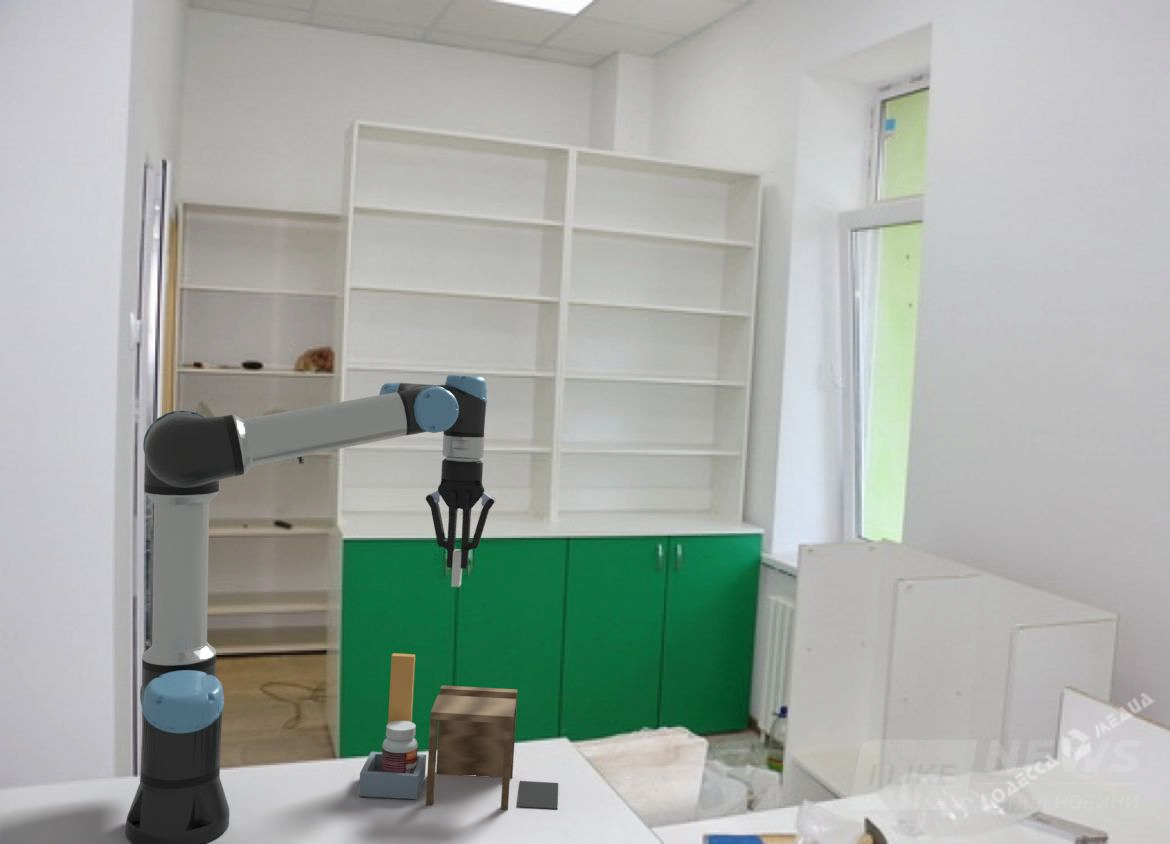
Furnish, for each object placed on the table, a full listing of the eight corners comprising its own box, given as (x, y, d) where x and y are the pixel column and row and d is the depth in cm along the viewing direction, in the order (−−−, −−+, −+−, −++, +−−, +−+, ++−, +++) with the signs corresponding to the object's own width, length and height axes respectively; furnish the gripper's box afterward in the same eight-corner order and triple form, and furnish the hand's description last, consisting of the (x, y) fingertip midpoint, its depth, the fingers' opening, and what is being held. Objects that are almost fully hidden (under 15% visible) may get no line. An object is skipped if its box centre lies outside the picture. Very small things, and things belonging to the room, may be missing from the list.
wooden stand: (425, 805, 176) (430, 712, 175) (436, 771, 191) (441, 685, 190) (507, 810, 176) (513, 716, 175) (512, 775, 191) (517, 689, 190)
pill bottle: (411, 796, 179) (414, 732, 179) (376, 793, 180) (379, 729, 179) (418, 782, 185) (422, 720, 185) (385, 779, 186) (388, 718, 185)
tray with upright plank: (358, 795, 177) (365, 668, 176) (370, 772, 188) (376, 652, 187) (416, 799, 178) (423, 671, 177) (425, 775, 188) (431, 655, 187)
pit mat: (516, 807, 177) (516, 806, 177) (519, 781, 188) (520, 780, 188) (557, 809, 178) (557, 808, 178) (558, 783, 189) (558, 782, 189)
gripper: (424, 458, 187) (417, 587, 188) (496, 462, 187) (489, 591, 188) (430, 455, 194) (424, 579, 195) (499, 459, 194) (493, 583, 195)
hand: (456, 585), depth 192 cm, fingers closed
